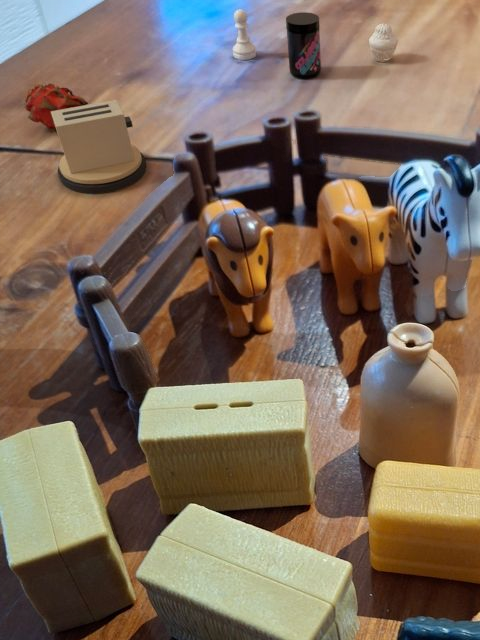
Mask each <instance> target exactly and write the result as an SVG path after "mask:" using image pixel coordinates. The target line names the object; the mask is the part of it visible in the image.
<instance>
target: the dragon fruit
mask: <svg viewBox="0 0 480 640" xmlns="http://www.w3.org/2000/svg"><path fill="white" fill-rule="evenodd" d="M33 87H34V88H30V89H28V91H27V94H26V96H25V97H24V101H25V103H24V105H23V107H24V108H25V110H26V111H27V112H29V113H28V119H29V120H30V121H32V122H34V123H41V124H42V125H43V126H45V127H46V128H47V129H48V130H49V131H50V133H54V132H55V131H56V127H55V124H54V121H53V118H52V114H51V111H56V110H62V109H67V108H73V107H78V106H84V105H89V103H88V101H86V100H85V98H83V97H81V96H78V95H75V94H74V93H73V91H72V90H71V89H69V88H68V87H60V86H58V85H57V86H56V85H55V84H54V83H48V84H41V83H37V84H35V85H34V86H33Z"/></svg>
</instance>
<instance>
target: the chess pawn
mask: <svg viewBox="0 0 480 640" xmlns="http://www.w3.org/2000/svg"><path fill="white" fill-rule="evenodd" d="M233 19H234V21H235V24H234V28H236V29H237V30H238V36H237V38H236V44H234V46H233V47H232V51H233V52H232V55H233V57H234V58H235V60H238V61H239V60H240V61H249V60H252V59H254V58H255V57H256V56H257V51H256V49H257V47H256V46H255V44H253V43H252V42H251V38H250V37H249V36H248V34H247V28H248V27H249V24H248V23H247V21H248V14H247V12H246V11H245V10H244V9H242V8H239V9H236V11H234V13H233Z"/></svg>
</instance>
